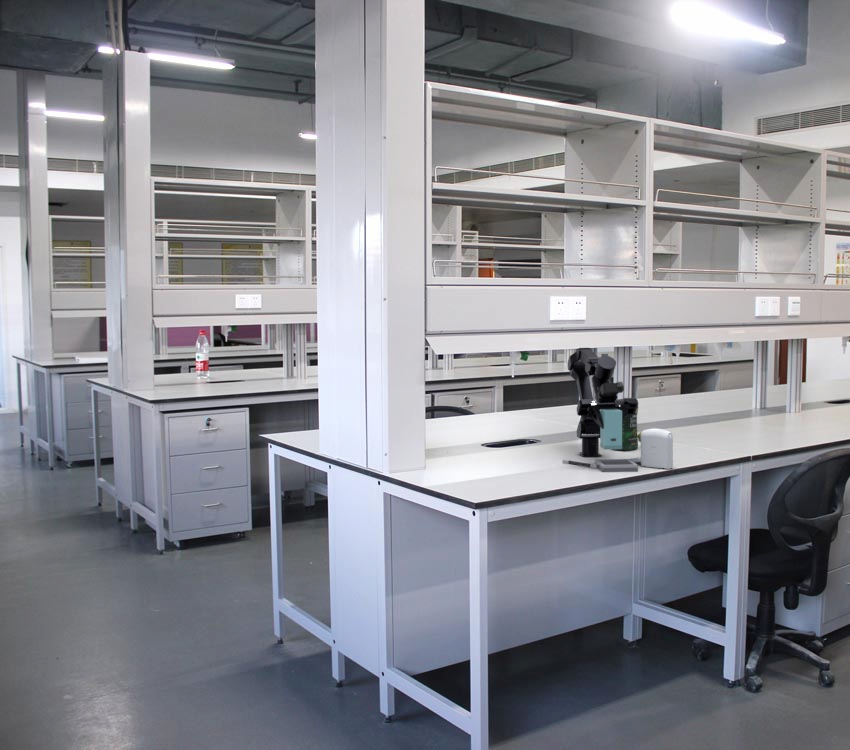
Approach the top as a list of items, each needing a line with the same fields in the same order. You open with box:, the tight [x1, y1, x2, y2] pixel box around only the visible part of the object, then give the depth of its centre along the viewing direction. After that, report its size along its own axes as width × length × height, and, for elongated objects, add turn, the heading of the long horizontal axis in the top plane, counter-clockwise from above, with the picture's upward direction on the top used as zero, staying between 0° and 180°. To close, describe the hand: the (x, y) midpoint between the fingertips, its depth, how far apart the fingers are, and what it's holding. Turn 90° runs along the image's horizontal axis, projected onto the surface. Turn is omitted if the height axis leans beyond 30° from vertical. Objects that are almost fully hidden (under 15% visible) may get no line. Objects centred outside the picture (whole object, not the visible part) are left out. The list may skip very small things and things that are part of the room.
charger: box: [599, 409, 622, 450], centre depth 254 cm, size 5×6×12 cm
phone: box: [629, 457, 641, 466], centre depth 263 cm, size 7×14×1 cm, turn 105°
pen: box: [561, 459, 598, 469], centre depth 262 cm, size 14×1×1 cm, turn 40°
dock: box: [594, 458, 639, 473], centre depth 255 cm, size 11×11×2 cm
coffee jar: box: [614, 398, 639, 452], centre depth 292 cm, size 10×8×19 cm
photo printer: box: [640, 427, 674, 470], centre depth 256 cm, size 10×4×12 cm, turn 47°
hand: (612, 427), depth 252 cm, fingers closed on charger, 5 cm apart
